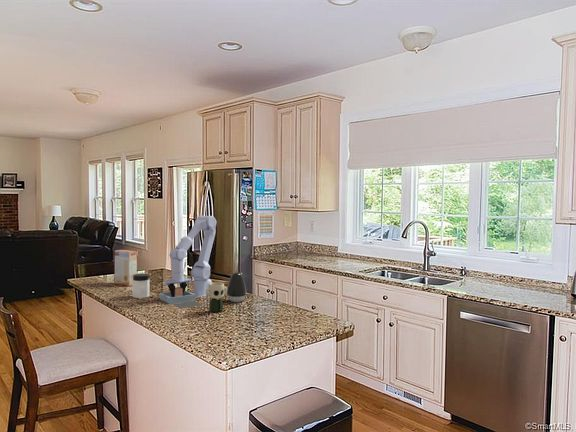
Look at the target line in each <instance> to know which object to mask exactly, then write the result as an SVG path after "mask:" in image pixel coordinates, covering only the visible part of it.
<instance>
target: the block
mask: <svg viewBox="0 0 576 432" xmlns="http://www.w3.org/2000/svg"><path fill="white" fill-rule="evenodd" d="M178 296H183V288H181V287H180V286H178V287H177V286H175V297H178Z"/></svg>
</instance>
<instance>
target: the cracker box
mask: <svg viewBox="0 0 576 432" xmlns="http://www.w3.org/2000/svg"><path fill="white" fill-rule="evenodd" d="M137 252H138V251H137V250H129V249H117V250H114V284H115V285H120V286H126V287H132V281H133V275H134V274H138V273H137V272H138V271H137V270H138V266H137V265H138V262H137V261H138V257H137V256H138V253H137Z"/></svg>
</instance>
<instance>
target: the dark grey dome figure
mask: <svg viewBox="0 0 576 432" xmlns="http://www.w3.org/2000/svg"><path fill="white" fill-rule="evenodd" d="M226 287H227V293H226V296H227V299H228V301H230V302H232V303H241V302H243V301H244V300H245V299H246V296H247V288H246V283H245V280H244V277H243V272H238V271H237V272H234V273H232V275H231V276H230V278H229V281H228V284H227V286H226Z"/></svg>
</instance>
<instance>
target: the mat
mask: <svg viewBox="0 0 576 432" xmlns="http://www.w3.org/2000/svg"><path fill="white" fill-rule="evenodd" d="M172 305H173V306H175V308H178V309H180V310H181V309H186V308H193V307H194V308H195V307H200V306H201V307H202V306H203V304H202V303H199V302H197V301H189V302H182V303H174V304H172Z"/></svg>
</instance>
